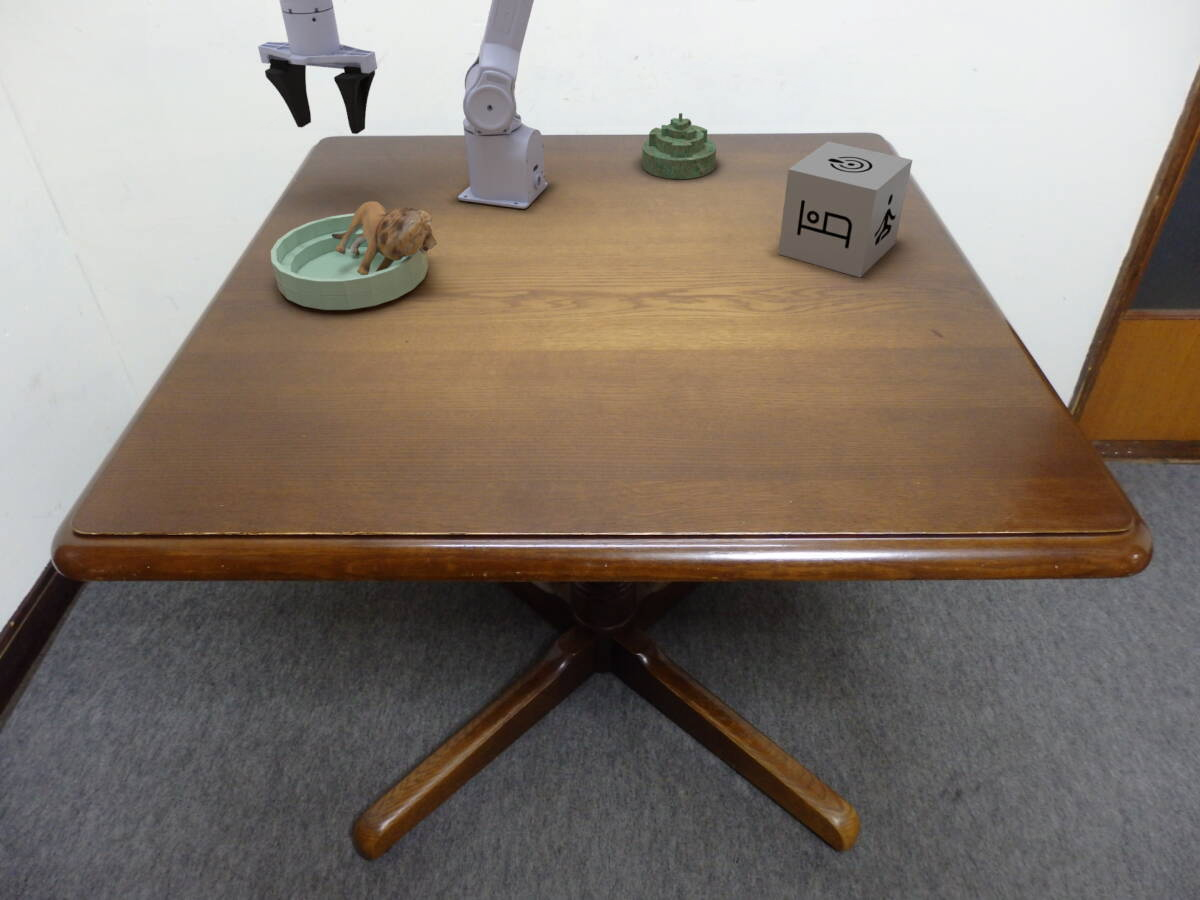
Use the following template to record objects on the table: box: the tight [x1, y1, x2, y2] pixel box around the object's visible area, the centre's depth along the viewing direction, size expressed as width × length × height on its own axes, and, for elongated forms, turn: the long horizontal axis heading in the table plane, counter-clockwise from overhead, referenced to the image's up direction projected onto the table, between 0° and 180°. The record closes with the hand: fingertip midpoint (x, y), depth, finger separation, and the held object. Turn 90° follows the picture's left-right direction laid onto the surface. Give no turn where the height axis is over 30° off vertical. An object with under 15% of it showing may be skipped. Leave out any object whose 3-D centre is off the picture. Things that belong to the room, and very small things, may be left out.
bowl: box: [270, 212, 429, 311], centre depth 100 cm, size 16×16×4 cm
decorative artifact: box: [641, 112, 717, 180], centre depth 123 cm, size 10×7×10 cm
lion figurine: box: [332, 200, 438, 275], centre depth 98 cm, size 15×5×9 cm
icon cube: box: [777, 141, 913, 278], centre depth 102 cm, size 10×10×10 cm
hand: (331, 127), depth 112 cm, fingers open, 7 cm apart
